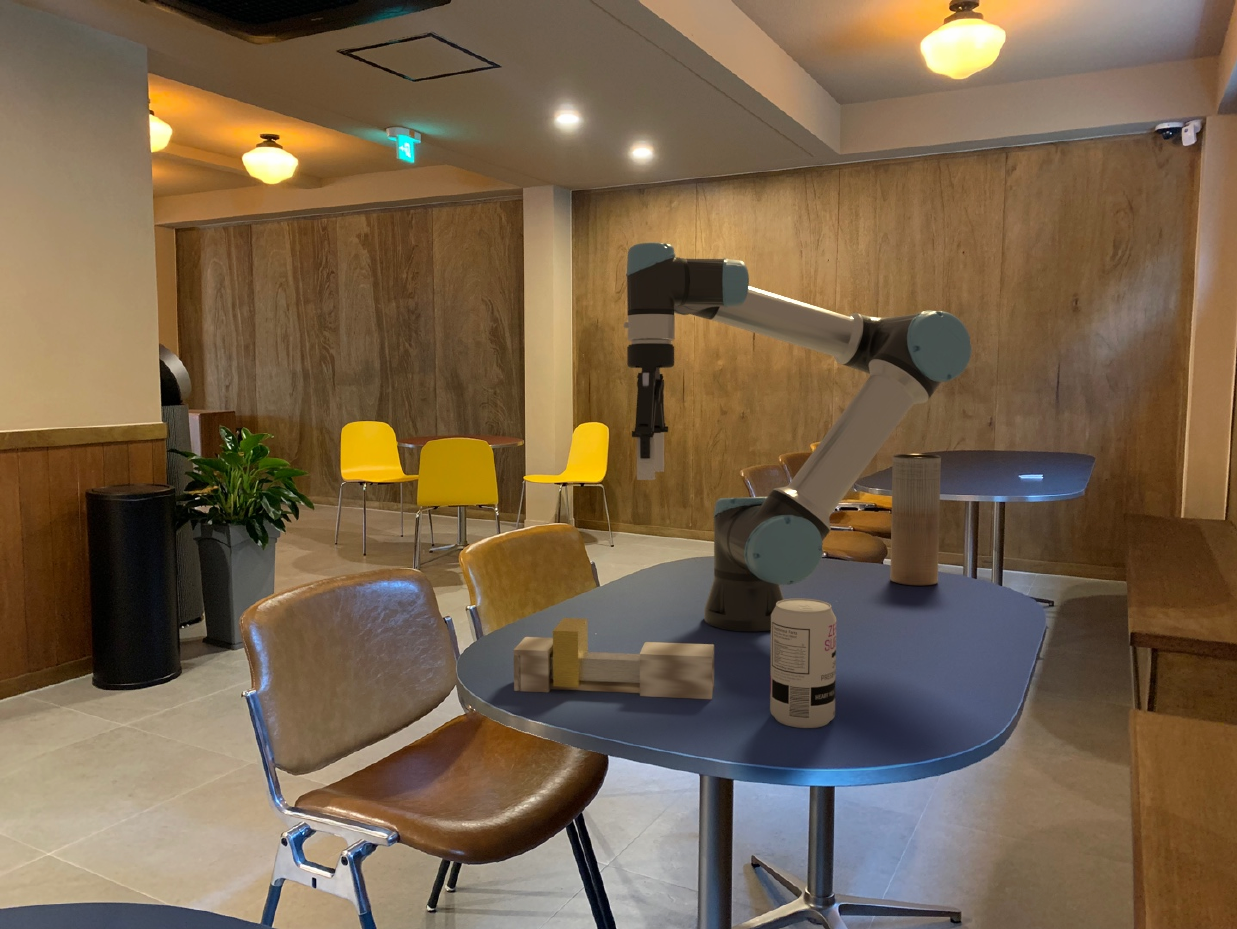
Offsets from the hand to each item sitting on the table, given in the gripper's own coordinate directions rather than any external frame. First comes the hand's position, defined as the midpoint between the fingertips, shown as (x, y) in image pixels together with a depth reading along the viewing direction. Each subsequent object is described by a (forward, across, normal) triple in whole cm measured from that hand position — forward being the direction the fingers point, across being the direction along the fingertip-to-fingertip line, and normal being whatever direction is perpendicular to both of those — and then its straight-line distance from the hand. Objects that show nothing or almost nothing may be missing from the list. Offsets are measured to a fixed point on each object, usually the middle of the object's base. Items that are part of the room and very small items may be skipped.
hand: (651, 475), depth 146 cm
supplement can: (+29, +28, +23) cm, 46 cm away
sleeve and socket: (+29, +20, -3) cm, 35 cm away
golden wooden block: (+28, +19, -6) cm, 34 cm away
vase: (+29, -59, +51) cm, 83 cm away
